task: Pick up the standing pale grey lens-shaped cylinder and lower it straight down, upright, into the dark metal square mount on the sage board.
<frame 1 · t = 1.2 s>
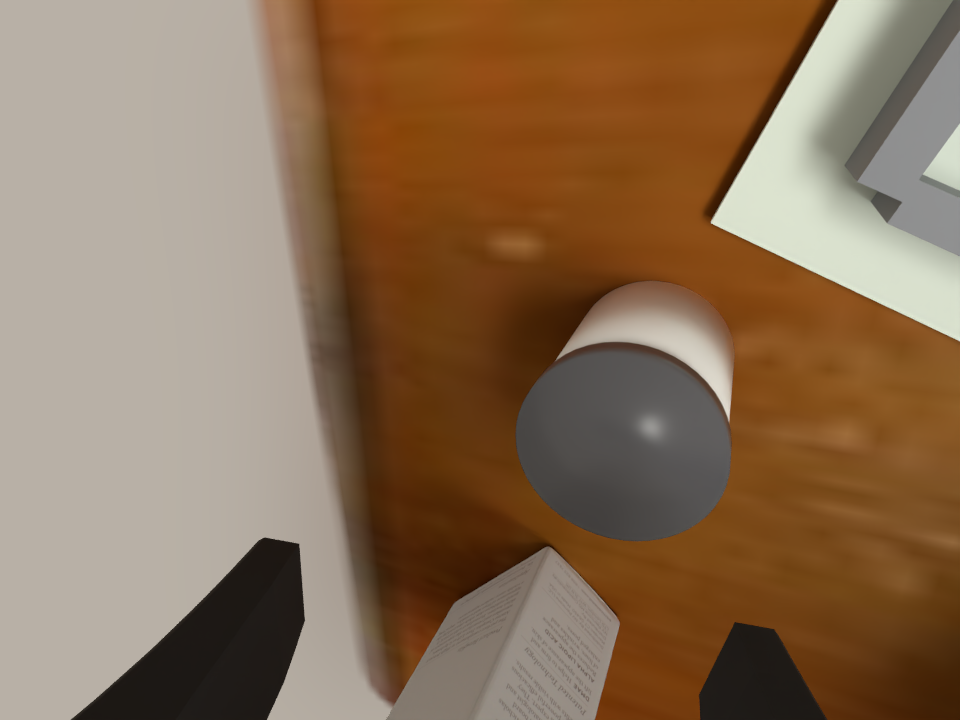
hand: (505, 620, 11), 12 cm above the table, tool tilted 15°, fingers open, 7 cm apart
lens cylinder: (652, 354, 21), on the table
skincare box: (535, 600, 27), on the table
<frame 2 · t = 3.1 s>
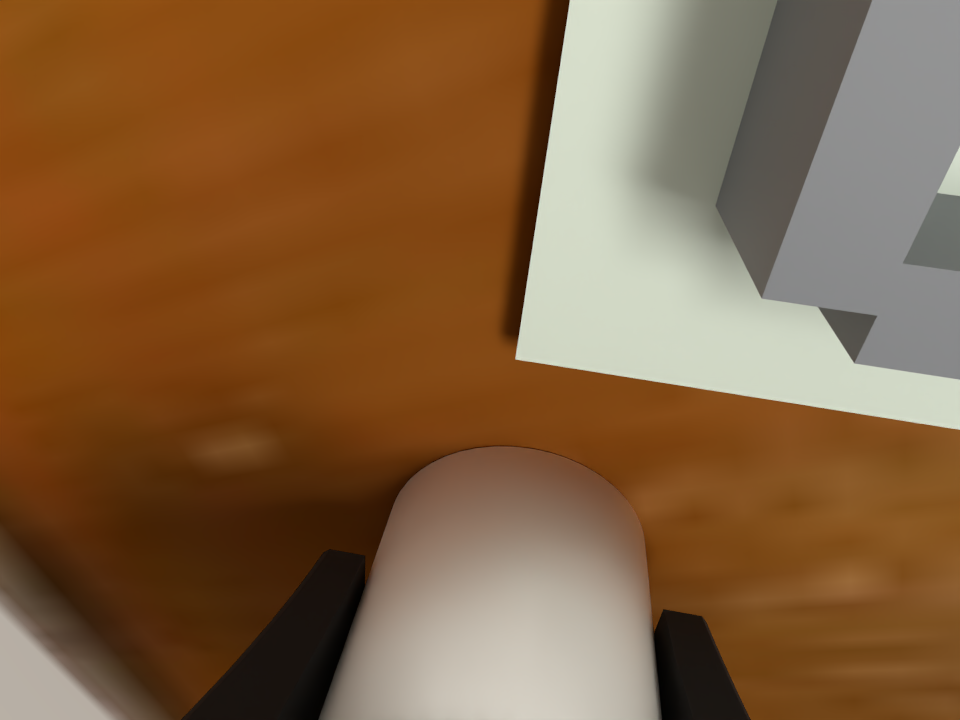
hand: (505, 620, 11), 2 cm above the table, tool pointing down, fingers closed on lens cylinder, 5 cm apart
lens cylinder: (514, 546, 12), on the table, touching gripper
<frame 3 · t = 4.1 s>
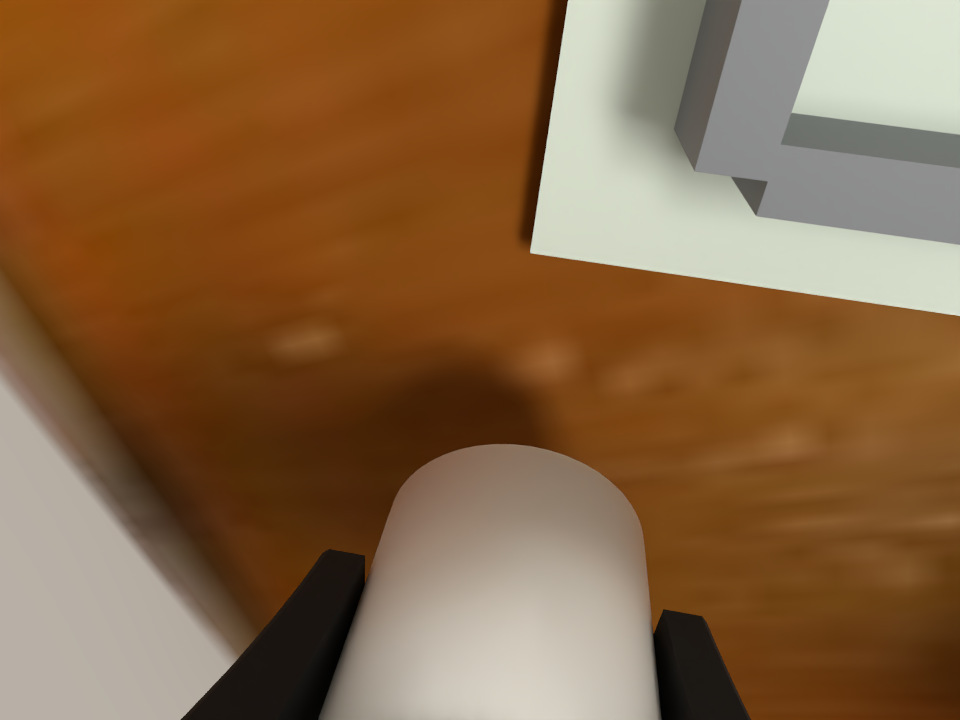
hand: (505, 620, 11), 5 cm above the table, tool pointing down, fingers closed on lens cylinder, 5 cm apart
lens cylinder: (513, 543, 12), point 4 cm above the table, touching gripper
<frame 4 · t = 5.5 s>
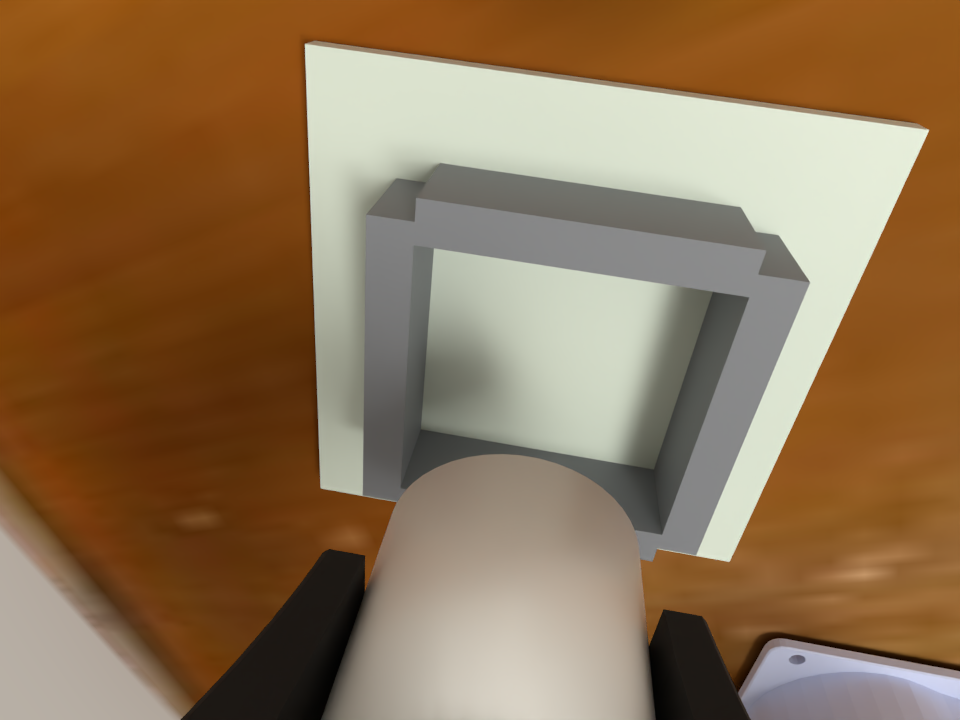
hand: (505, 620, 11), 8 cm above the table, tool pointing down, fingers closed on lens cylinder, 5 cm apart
mount board: (556, 338, 18), on the table
lens cylinder: (510, 552, 13), point 7 cm above the table, touching gripper
when the fingers open (4 cm above the table, at t = 7.3 s): lens cylinder drops 1 cm, resting on mount board.
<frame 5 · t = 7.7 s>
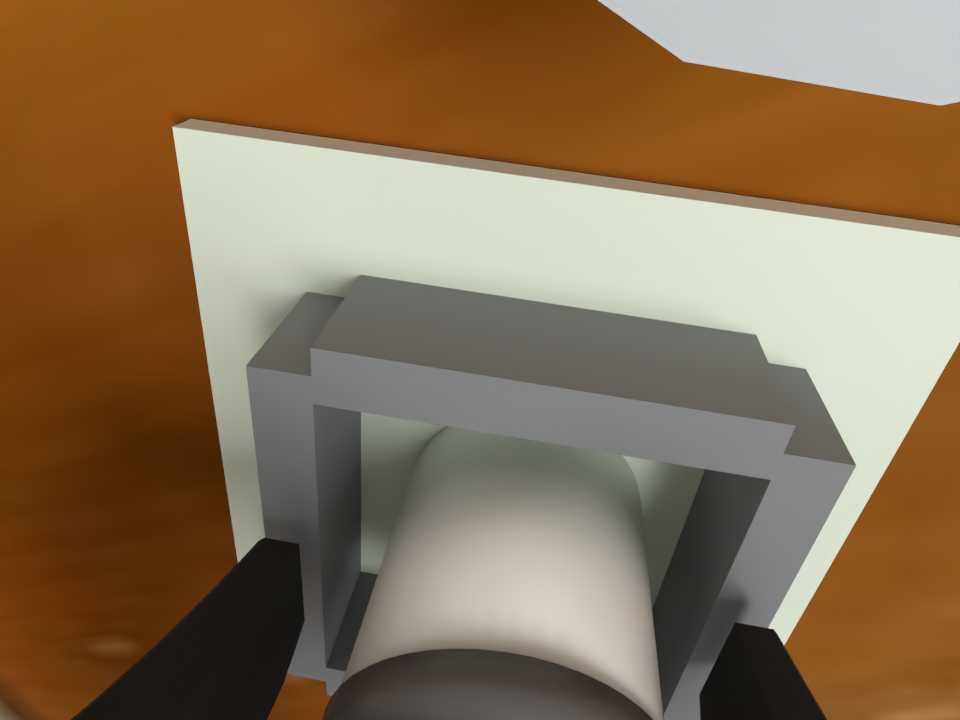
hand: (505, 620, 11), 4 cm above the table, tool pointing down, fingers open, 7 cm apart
mount board: (523, 472, 14), on the table
lens cylinder: (522, 502, 14), point 1 cm above the table, touching mount board
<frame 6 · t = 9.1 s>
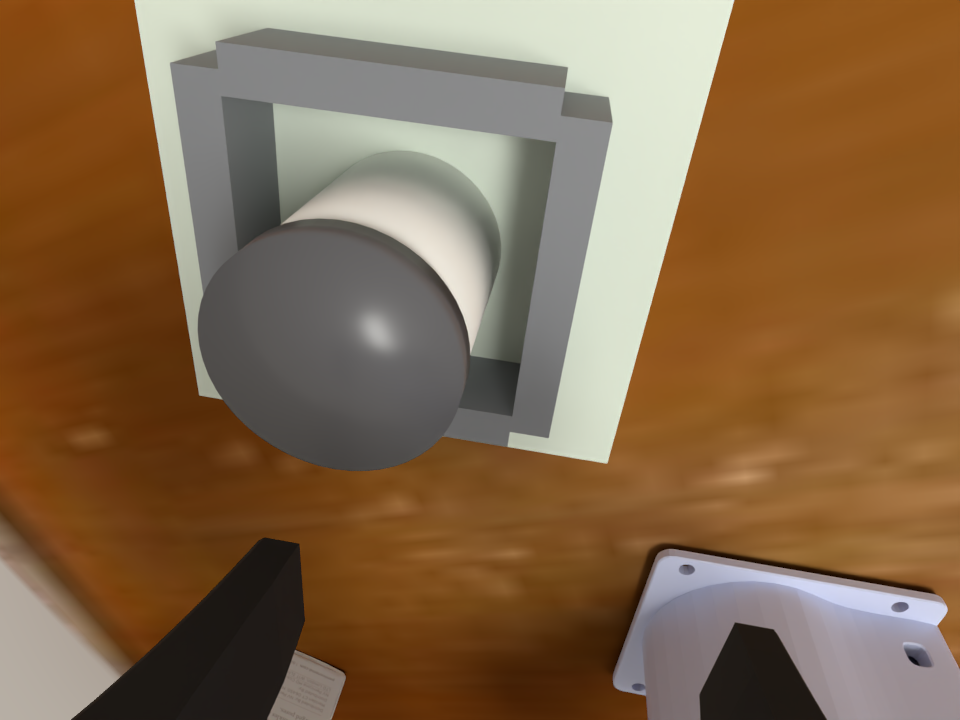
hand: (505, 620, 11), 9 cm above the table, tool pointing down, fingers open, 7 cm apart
mount board: (412, 225, 17), on the table
lens cylinder: (409, 245, 17), point 1 cm above the table, touching mount board
skincare box: (286, 676, 30), on the table
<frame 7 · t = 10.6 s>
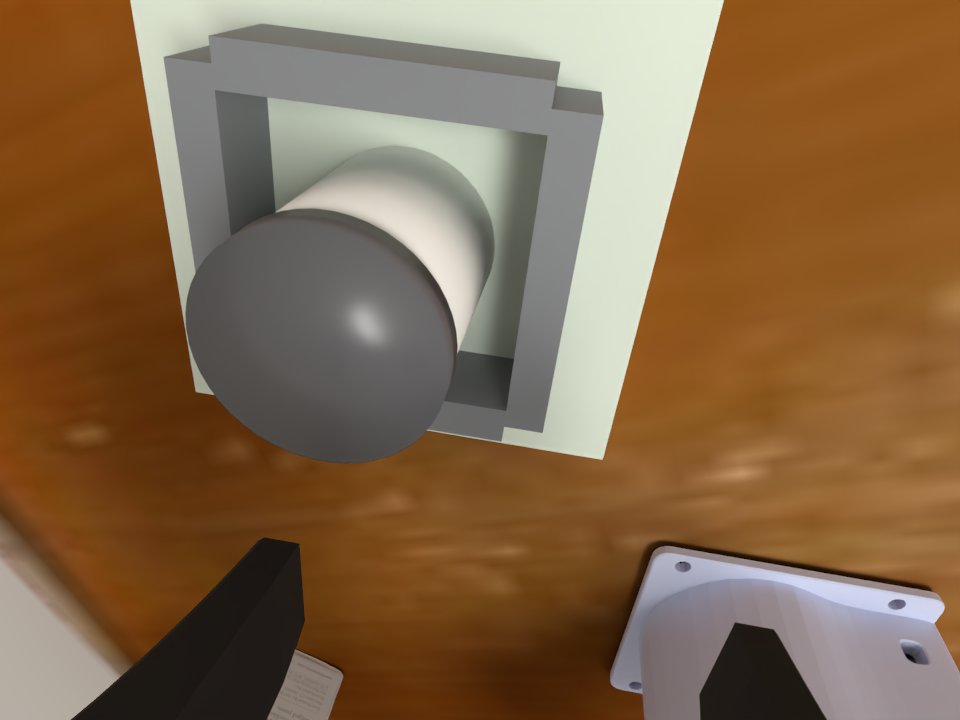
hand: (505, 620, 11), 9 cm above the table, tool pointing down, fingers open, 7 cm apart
mount board: (407, 220, 18), on the table
lens cylinder: (403, 240, 17), point 1 cm above the table, touching mount board
skincare box: (283, 675, 30), on the table
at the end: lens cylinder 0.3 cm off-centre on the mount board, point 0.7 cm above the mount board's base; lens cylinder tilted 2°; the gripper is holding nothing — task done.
